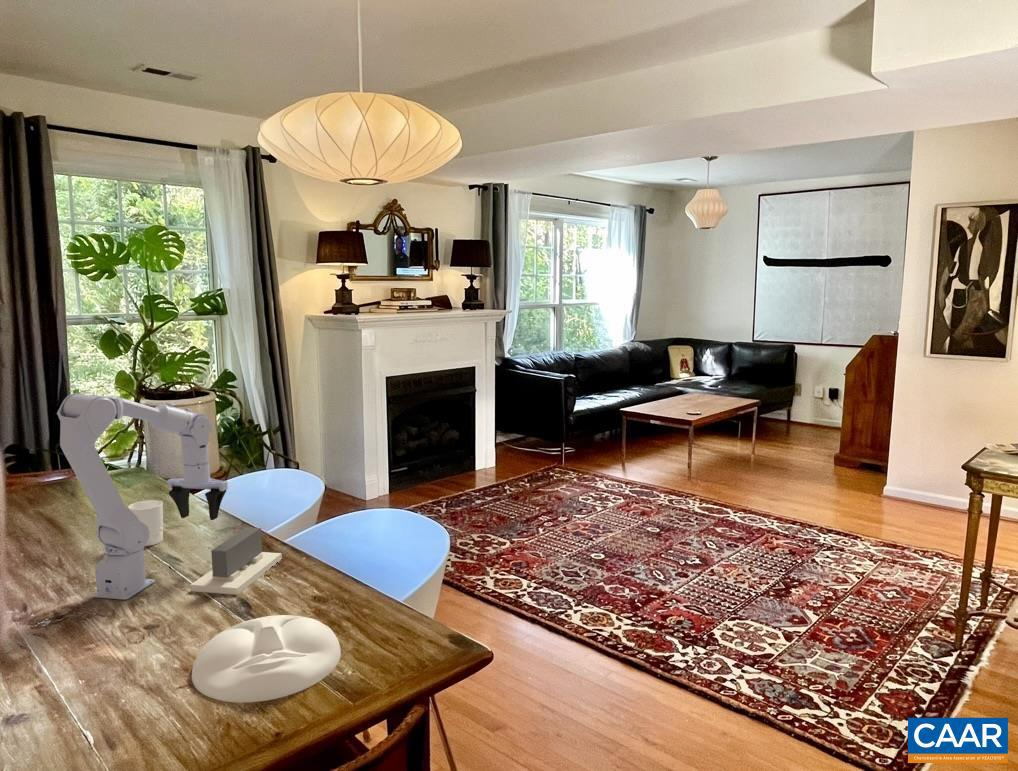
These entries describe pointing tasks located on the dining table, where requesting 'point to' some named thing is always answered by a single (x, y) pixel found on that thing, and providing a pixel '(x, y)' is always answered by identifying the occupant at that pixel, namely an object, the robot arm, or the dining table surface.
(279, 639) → the theatrical mask
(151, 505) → the white cup
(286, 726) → the dining table surface
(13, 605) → the dining table surface
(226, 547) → the matte grey box
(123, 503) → the robot arm
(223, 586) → the plate
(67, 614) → the dining table surface
